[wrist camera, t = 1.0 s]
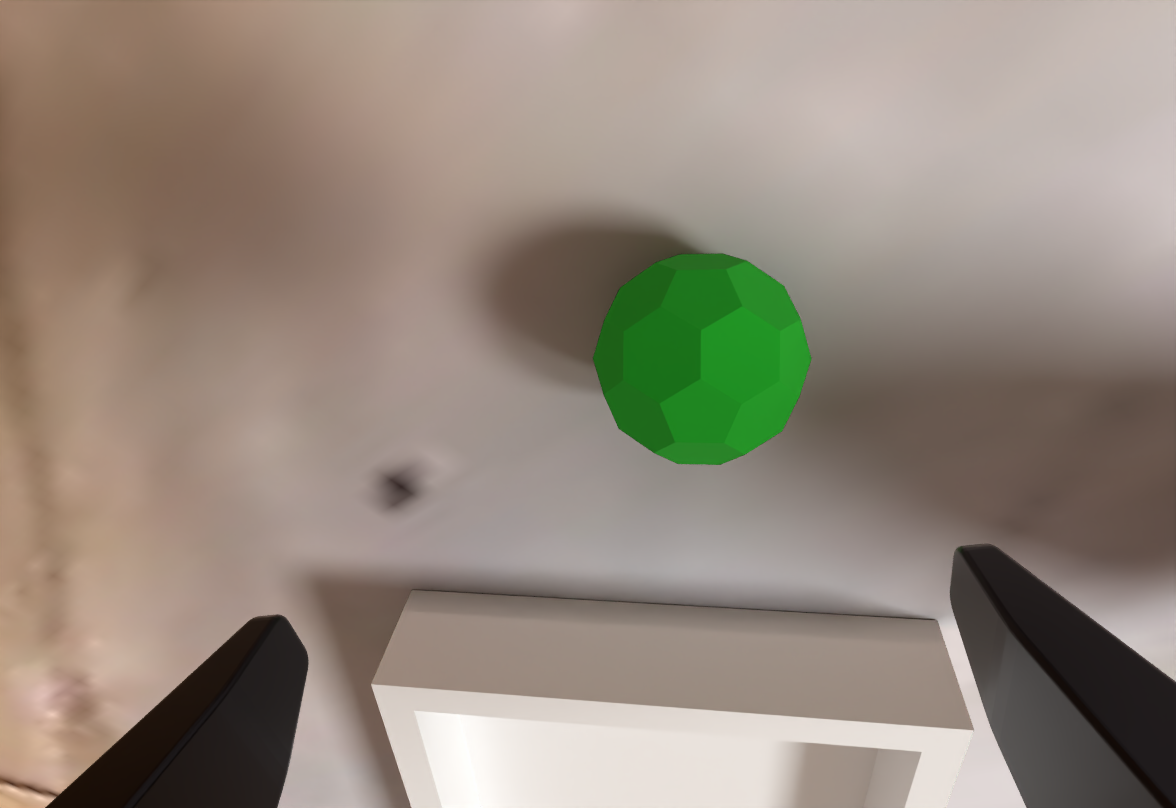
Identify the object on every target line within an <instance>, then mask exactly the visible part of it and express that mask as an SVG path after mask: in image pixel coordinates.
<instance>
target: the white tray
mask: <svg viewBox="0 0 1176 808" xmlns="http://www.w3.org/2000/svg"><path fill="white" fill-rule="evenodd" d="M371 686H372V689H373V692H374V695H375V698H376V701H377V704H378V707H379V710H380V713H381V716H382V719H383V722H384V725H385V729H386V732H387V735H388V738H389V741H390V744H391V747H392V750H393V753H394V756H395V759H396V762H397V765H398V768H399V771H400V774H401V777H402V780H403V783H404V787H405V790H406V793H407V796H408V799H409V802H410V805H411V808H946V806H947V803H948V801H949V798H950V795H951V792H952V790H953V787H954V784H955V782H956V779H957V776H958V773H959V771H960V768H961V765H962V762H963V760H964V757H965V754H966V752H967V749H968V746H969V743H970V741H971V738H972V735H973V732H974V728H973V725H972V722H971V719H970V716H969V713H968V710H967V707H966V704H965V701H964V698H963V695H962V693H961V690H960V687H959V684H958V681H957V678H956V675H955V672H954V669H953V666H952V663H951V660H950V657H949V654H948V651H947V648H946V645H945V642H944V639H943V636H942V633H941V630H940V627H939V624H938V621H937V620H920V619H902V618H885V617H868V616H851V615H834V614H817V613H800V612H782V611H765V610H748V609H731V608H714V607H697V606H680V605H662V604H645V603H628V602H611V601H594V600H577V599H560V598H542V597H525V596H508V595H491V594H474V593H457V592H439V591H422V590H411V592H410V595H409V597H408V599H407V602H406V604H405V606H404V609H403V611H402V613H401V616H400V618H399V620H398V623H397V625H396V627H395V630H394V632H393V634H392V637H391V639H390V641H389V644H388V646H387V648H386V651H385V653H384V655H383V658H382V660H381V662H380V664H379V667H378V669H377V671H376V674H375V676H374V678H373V681H372V683H371Z"/></svg>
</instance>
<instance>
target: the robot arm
mask: <svg viewBox="0 0 1176 808" xmlns="http://www.w3.org/2000/svg"><path fill="white" fill-rule="evenodd" d="M950 600H951V605H952V610H953V613H954V616H955V619H956V622H957V625H958V628H959V632H960V635H961V638H962V641H963V644H964V647H965V650H966V653H967V656H968V660H969V663H970V666H971V669H972V672H973V675H974V678H975V681H976V684H977V688H978V691H979V694H980V697H981V700H982V703H983V706H984V709H985V712H986V715H987V718H988V721H989V724H990V726H991V729H992V731H993V734H994V736H995V738H996V741H997V743H998V746H999V748H1000V750H1001V752H1002V754H1003V757H1004V759H1005V761H1006V763H1007V765H1008V768H1009V770H1010V772H1011V774H1012V776H1013V779H1014V781H1015V783H1016V785H1017V788H1018V790H1019V792H1020V794H1021V796H1022V799H1023V801H1024V803H1025V805H1026V807H1027V808H1176V682H1175V681H1174V680H1173V679H1171V678H1170V677H1169V676H1167V675H1166V674H1165V673H1163V672H1162V671H1161V670H1159V669H1158V668H1157V667H1155V666H1154V665H1153V664H1151V663H1150V662H1149V661H1147V660H1146V659H1145V658H1143V657H1142V656H1141V655H1139V654H1138V653H1137V652H1135V651H1134V650H1133V649H1132V648H1130V647H1129V646H1128V645H1126V644H1125V643H1124V642H1122V641H1121V640H1120V639H1118V638H1117V637H1116V636H1114V635H1113V634H1112V633H1110V632H1109V631H1108V630H1106V629H1105V628H1104V627H1102V626H1101V625H1100V624H1098V623H1097V622H1096V621H1094V620H1093V619H1092V618H1090V617H1089V616H1088V615H1086V614H1085V613H1084V612H1082V611H1081V610H1080V609H1078V608H1077V607H1076V606H1074V605H1073V604H1072V603H1070V602H1069V601H1068V600H1066V599H1065V598H1064V597H1062V596H1061V595H1060V594H1058V593H1057V592H1056V591H1055V590H1053V589H1052V588H1051V587H1049V586H1048V585H1047V584H1045V583H1044V582H1043V581H1041V580H1040V579H1039V578H1037V577H1036V576H1035V575H1033V574H1032V573H1031V572H1029V571H1028V570H1027V569H1025V568H1024V567H1023V566H1021V565H1020V564H1019V563H1017V562H1016V561H1015V560H1013V559H1012V558H1011V557H1009V556H1008V555H1007V554H1005V553H1004V552H1003V551H1001V550H1000V549H999V548H997V547H996V546H994V545H991V544H977V545H967V546H960V547H958V548H957V549H956V551H955V553H954V557H953V567H952V576H951V585H950ZM307 671H308V654H307V651H306V649H305V647H304V645H303V644H302V642H301V640H300V639H299V637H298V636H297V634H296V632H295V631H294V629H293V627H292V626H291V624H290V623H289V621H288V620H287V618H286V617H284V616H282V615H278V614H277V615H267V616H258V617H255V618H253V619H251V620H250V621H248V622H247V623H246V624H245V625H244V626H243V627H242V628H241V629H239V630H238V631H237V632H236V633H235V634H234V635H233V636H232V637H231V638H230V639H229V640H227V641H226V642H225V643H224V644H223V645H222V646H221V647H220V648H219V649H218V650H217V651H215V652H214V653H213V654H212V655H211V656H210V657H209V658H208V659H207V660H206V661H205V662H203V663H202V664H201V665H200V666H199V667H198V668H197V669H196V670H195V671H194V672H193V673H191V674H190V675H189V676H188V677H187V678H186V679H185V680H184V681H183V682H182V683H181V684H179V685H178V686H177V687H176V688H175V689H174V690H173V691H172V692H171V693H170V694H169V695H168V696H166V697H165V698H164V699H163V700H162V701H161V702H160V703H159V704H158V705H157V706H156V707H154V708H153V709H152V710H151V711H150V712H149V713H148V714H147V715H146V716H145V717H144V718H142V719H141V720H140V721H139V722H138V723H137V724H136V725H135V726H134V727H133V728H132V729H130V730H129V731H128V732H127V733H126V734H125V735H124V736H123V737H122V738H121V739H120V740H118V741H117V742H116V743H115V744H114V745H113V746H112V747H111V748H110V749H109V750H108V751H106V752H105V753H104V754H103V755H102V756H101V757H100V758H99V759H98V760H97V761H96V762H95V763H93V764H92V765H91V766H90V767H89V768H88V769H87V770H86V771H85V772H84V773H83V774H81V775H80V776H79V777H78V778H77V779H76V780H75V781H74V782H73V783H72V784H71V785H69V786H68V787H67V788H66V789H65V790H64V791H63V792H62V793H61V794H60V795H59V796H57V797H56V798H55V799H54V800H53V801H52V802H51V803H50V804H49V805H48V806H47V807H45V808H277V807H278V803H279V800H280V797H281V793H282V790H283V786H284V783H285V779H286V775H287V771H288V767H289V763H290V758H291V753H292V748H293V743H294V738H295V733H296V728H297V723H298V717H299V712H300V707H301V702H302V697H303V692H304V686H305V681H306V676H307Z"/></svg>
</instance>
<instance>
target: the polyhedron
mask: <svg viewBox="0 0 1176 808" xmlns="http://www.w3.org/2000/svg"><path fill="white" fill-rule="evenodd" d="M593 360H594V364H595V367H596V370H597V374H598V377H599V381H600V384H601V387H602V391H603V394H604V397H605V399H606V401H607V403H608V406H609V408H610V410H611V412H612V414H613V417H614V419H615V421H616V423H617V426H618V428H619V429H620V430H621V431H623V432H624V433H626V434H627V435H629V436H630V437H632V438H633V439H635V440H636V441H637V442H639V443H640V444H642V445H643V446H645V447H646V448H648V449H649V450H651V451H652V452H654V453H655V454H658V455H660V456H662V457H664V458H666V459H668V460H671V461H673V462H675V463H677V464H708V465H720V464H723V463H725V462H728V461H730V460H733V459H735V458H738V457H740V456H743V455H745V454H747V453H748V452H750V451H751V450H753V449H755V448H756V447H758V446H759V445H761V444H763V443H764V442H766V441H767V440H769V439H771V438H772V437H774V436H775V435H777V434H778V433H780V432H782V430H783V428H784V426H785V424H786V422H787V420H788V418H789V416H790V414H791V412H792V410H793V408H794V406H795V404H796V402H797V400H798V398H799V396H800V393H801V390H802V387H803V384H804V381H805V377H806V374H807V371H808V368H809V365H810V362H811V355H810V352H809V348H808V344H807V341H806V337H805V333H804V330H803V326H802V322H801V319H800V317H799V315H798V313H797V311H796V309H795V307H794V305H793V303H792V301H791V299H790V297H789V295H788V293H787V291H786V289H785V287H784V286H783V285H782V284H780V283H779V282H778V281H776V280H775V279H773V278H772V277H770V276H769V275H767V274H766V273H764V272H763V271H761V270H760V269H758V268H757V267H755V266H754V265H752V264H751V263H750V262H748V261H746V260H742V259H739V258H736V257H732V256H729V255H725V254H679V255H676V256H673V257H670V258H667V259H664V260H661V261H658V262H656V263H654V264H653V265H651V266H650V267H649V268H647V269H646V270H644V271H643V272H642V273H640V274H639V275H637V276H636V277H635V278H633V279H632V280H630V281H629V282H627V283H626V284H625V285H623V286H622V287H620V289H619V291H618V293H617V295H616V297H615V299H614V301H613V303H612V305H611V307H610V309H609V311H608V314H607V316H606V318H605V320H604V323H603V326H602V329H601V333H600V336H599V340H598V343H597V346H596V350H595V353H594V356H593Z"/></svg>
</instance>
